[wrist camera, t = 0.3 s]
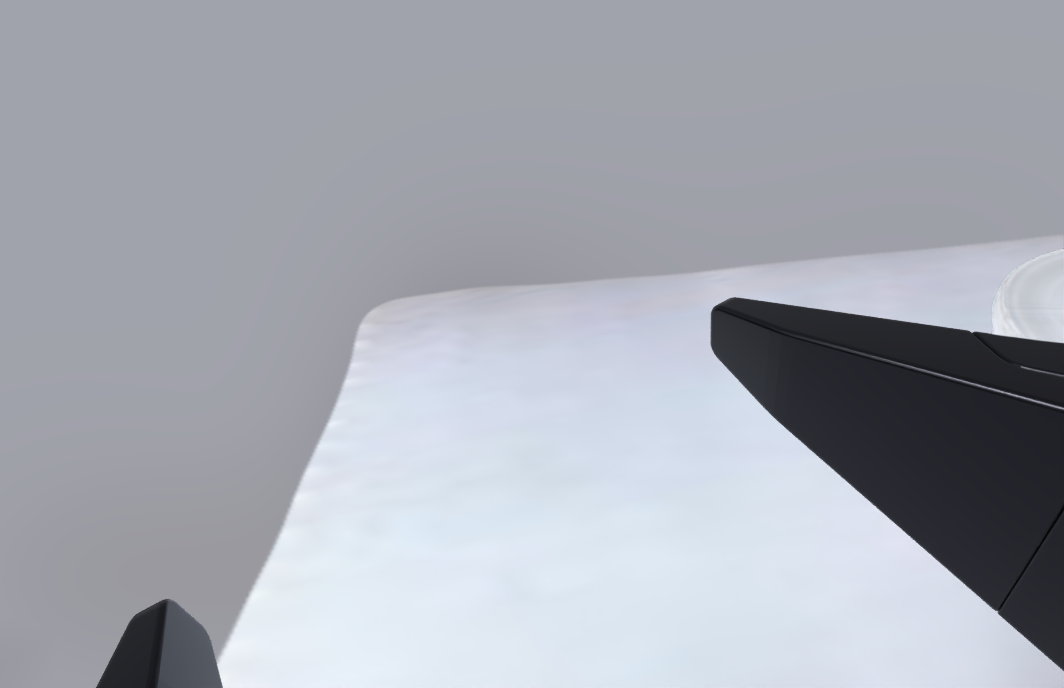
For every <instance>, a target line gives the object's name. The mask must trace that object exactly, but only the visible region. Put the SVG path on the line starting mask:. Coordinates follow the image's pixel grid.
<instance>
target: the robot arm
mask: <svg viewBox="0 0 1064 688" xmlns="http://www.w3.org/2000/svg"><path fill="white" fill-rule="evenodd" d="M711 347H712V350H713V352H714V354H715V355H716V357H717V358H718V359H719V360H720V361H721V362H722V363H723V364H724V365H725V366H726V367H727V369H728V370H729V371H730V372H731V373H732V374H733V375H734V376H735V377H736V378H737V379H738V380H739V381H740V382H741V384H742V385H743V386H744V387H745V388H746V389H747V390H748V391H749V392H750V393H751V394H752V395H753V396H754V397H755V399H756V400H757V401H758V402H759V403H760V404H761V405H762V406H763V407H764V408H765V409H766V410H767V411H768V412H769V413H770V414H771V415H772V416H773V417H774V418H775V419H776V420H777V421H778V422H779V423H781V424H782V425H783V426H784V427H785V428H786V429H787V430H788V431H790V432H791V433H792V434H793V435H794V436H795V437H796V438H798V439H799V440H800V441H801V442H802V443H803V444H804V445H806V446H807V447H808V448H809V449H810V450H811V451H812V452H814V453H815V454H816V455H817V456H818V457H819V458H821V459H822V460H823V461H824V462H825V463H826V464H827V465H829V466H830V467H831V468H832V469H833V470H834V471H835V472H837V473H838V474H839V475H840V476H841V477H842V478H843V479H845V480H846V481H847V482H848V483H849V484H850V485H851V486H853V487H854V488H855V489H856V490H857V491H858V492H859V493H861V494H862V495H863V496H864V497H865V498H866V499H868V500H869V501H870V502H871V503H872V504H873V505H874V506H876V507H877V508H878V509H879V510H880V511H881V512H882V513H884V514H885V515H886V516H887V517H888V518H889V519H890V520H892V521H893V522H894V523H895V524H896V525H897V526H898V527H900V528H901V529H902V530H903V531H904V532H905V533H906V534H908V535H909V536H910V537H911V538H912V539H913V540H915V541H916V542H917V543H918V544H919V545H920V546H921V547H923V548H924V549H925V550H926V551H927V552H928V553H929V554H931V555H932V556H933V557H934V558H935V559H936V560H937V561H939V562H940V563H941V564H942V565H943V566H944V567H945V568H947V569H948V570H949V571H950V572H951V573H952V574H954V575H955V576H956V577H957V578H958V579H959V580H960V581H962V582H963V583H964V584H965V585H966V586H967V587H968V588H970V589H971V590H972V591H973V592H974V593H975V594H976V595H978V596H979V597H980V598H981V599H982V600H983V601H984V602H986V603H987V604H988V605H989V606H990V607H991V608H992V609H994V610H995V611H997V612H998V614H999V615H1000V616H1001V617H1002V618H1003V619H1005V620H1006V621H1007V622H1008V623H1009V624H1010V625H1011V626H1013V627H1014V628H1015V629H1016V630H1017V631H1018V632H1020V633H1021V634H1022V635H1023V636H1024V637H1025V638H1026V639H1028V640H1029V641H1030V642H1031V643H1032V644H1033V645H1034V646H1036V647H1037V648H1038V649H1039V650H1040V651H1041V652H1042V653H1044V654H1045V655H1046V656H1047V657H1048V658H1049V659H1051V660H1052V661H1053V662H1054V663H1055V664H1056V665H1057V666H1059V667H1060V668H1061V669H1062V670H1063V671H1064V343H1059V342H1049V341H1041V340H1033V339H1025V338H1018V337H1010V336H1002V335H995V334H989V333H982V332H973V333H971V332H970V331H967V330H960V329H953V328H946V327H939V326H932V325H925V324H918V323H911V322H905V321H898V320H891V319H884V318H877V317H870V316H863V315H856V314H849V313H842V312H835V311H828V310H821V309H814V308H807V307H800V306H793V305H786V304H779V303H772V302H765V301H758V300H751V299H744V298H736V297H734V298H730V299H727V300H726V301H724V302H722V303H720V304H718V305H716V306H715V307H714V308H713V309H712V312H711ZM96 688H223V686H222V682H221V678H220V674H219V671H218V667H217V663H216V659H215V655H214V651H213V647H212V643H211V640H210V637H209V635H208V633H207V631H206V630H205V629H204V627H203V626H202V625H201V624H200V623H199V622H198V621H196V620H195V619H194V618H193V617H192V616H191V615H190V614H189V613H187V612H186V611H185V610H184V609H183V608H182V607H181V606H180V605H178V604H177V603H176V602H175V601H173V600H170V599H165V600H162V601H160V602H158V603H156V604H154V605H152V606H150V607H149V608H147V609H145V610H143V611H141V612H139V613H138V614H136V615H135V616H134V617H133V618H132V620H131V621H130V622H129V624H128V626H127V628H126V630H125V632H124V634H123V636H122V638H121V640H120V642H119V644H118V646H117V648H116V650H115V652H114V654H113V656H112V658H111V659H110V661H109V664H108V665H107V667H106V669H105V671H104V673H103V675H102V677H101V679H100V681H99V683H98V685H97V687H96Z"/></svg>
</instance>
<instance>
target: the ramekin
mask: <svg viewBox="0 0 1064 688" xmlns="http://www.w3.org/2000/svg"><path fill="white" fill-rule="evenodd" d="M992 322H993V330H992V334H995V335H1002V336H1010V337H1018V338H1025V339H1033V340H1041V341H1049V342H1059V343H1064V248H1063V249H1059V250H1056V251H1052V252H1049V253H1046V254H1043V255H1041V256H1038V257H1036V258H1034V259H1032V260H1030V261H1027V262H1025V263H1023V264H1022V265H1020V266H1019V267H1017V268H1016V269H1015V270H1013V271H1012V272H1011V273H1010V274H1009V275H1008V276H1007V277H1006V279H1005V280H1004V281H1003V283H1002V284H1001V286H1000V288H999V290H998V292H997V294H996V297H995V299H994V302H993V307H992Z"/></svg>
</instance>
